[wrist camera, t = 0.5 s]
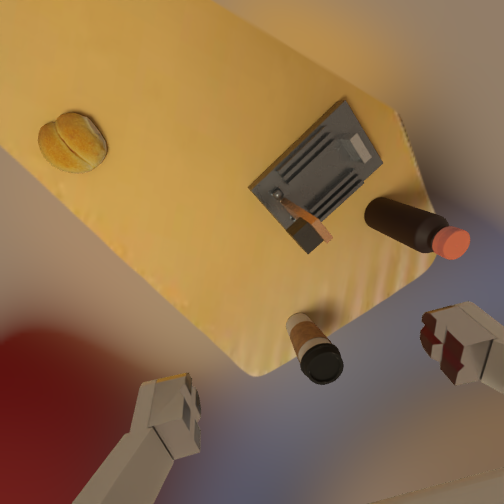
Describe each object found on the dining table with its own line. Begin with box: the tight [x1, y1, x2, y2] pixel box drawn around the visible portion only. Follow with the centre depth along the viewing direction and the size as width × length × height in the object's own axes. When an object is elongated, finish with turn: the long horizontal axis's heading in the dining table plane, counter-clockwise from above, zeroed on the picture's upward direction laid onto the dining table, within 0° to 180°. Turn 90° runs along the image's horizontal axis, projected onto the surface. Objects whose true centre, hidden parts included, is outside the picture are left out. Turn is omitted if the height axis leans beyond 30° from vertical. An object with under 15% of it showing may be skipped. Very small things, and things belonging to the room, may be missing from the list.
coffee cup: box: [286, 313, 343, 385], centre depth 63 cm, size 8×8×15 cm
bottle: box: [365, 198, 470, 260], centre depth 54 cm, size 7×7×20 cm
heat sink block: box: [248, 100, 383, 230], centre depth 54 cm, size 22×14×6 cm, turn 131°
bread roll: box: [38, 113, 107, 173], centre depth 45 cm, size 8×9×4 cm
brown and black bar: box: [280, 198, 333, 254], centre depth 48 cm, size 4×4×15 cm
